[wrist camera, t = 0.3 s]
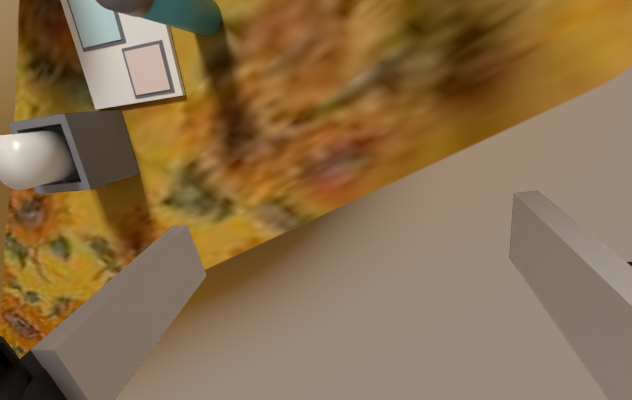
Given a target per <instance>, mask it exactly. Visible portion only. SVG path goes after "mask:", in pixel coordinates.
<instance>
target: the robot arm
mask: <svg viewBox="0 0 632 400" xmlns="http://www.w3.org/2000/svg"><path fill="white" fill-rule="evenodd" d="M509 257H510V259H511V261H512V262H513V264H514V265H515V266H516V268H517V269H518V271H519V272H520V274H521V275H522V277H523V278H524V279H525V281H526V282H527V284H528V285H529V286H530V288H531V289H532V291H533V292H534V294H535V295H536V297H537V298H538V300H539V301H540V303H541V304H542V305H543V307H544V308H545V310H546V311H547V313H548V314H549V316H550V317H551V318H552V320H553V321H554V323H555V324H556V326H557V327H558V328H559V330H560V331H561V333H562V334H563V336H564V337H565V339H566V340H567V341H568V343H569V344H570V346H571V347H572V349H573V350H574V352H575V353H576V354H577V356H578V357H579V359H580V360H581V362H582V363H583V365H584V366H585V368H586V369H587V370H588V372H589V373H590V375H591V376H592V377H593V379H594V380H595V382H596V383H597V385H598V386H599V388H600V389H601V391H602V392H603V393H604V395H605V396H606V398H607V399H608V400H632V262H625V261H624V260H623V259H622V258H620V257H619V256H618V255H617V254H615V253H614V252H613V251H612V250H610V249H609V248H608V247H607V246H606V245H604V244H603V243H602V242H601V241H599V240H598V239H597V238H596V237H594V236H593V235H592V234H591V233H589V232H588V231H587V230H586V229H584V228H583V227H582V226H581V225H579V224H578V223H577V222H576V221H575V220H573V219H572V218H571V217H570V216H568V215H567V214H566V213H564V212H563V211H562V210H561V209H560V208H558V207H557V206H556V205H555V204H553V203H552V202H551V201H549V200H548V199H547V198H546V197H545V196H543V195H542V194H541V193H540V192H539V191H530V192H520V193H514V195H513V210H512V225H511V240H510V255H509ZM205 277H206V273H205V270H204V267H203V265H202V262H201V260H200V257H199V254H198V252H197V249H196V246H195V244H194V241H193V239H192V236H191V233H190V231H189V228H188V225H180V226H172V227H171V228H169V229H168V230H167V231H166V232H165V233H164V234H163V235H161V236H160V237H159V238H158V239H157V240H156V241H155V242H153V243H152V244H151V245H150V246H149V247H148V248H147V249H145V250H144V251H143V252H142V253H141V254H140V255H139V256H137V257H136V258H135V259H134V260H133V261H132V262H131V263H129V264H128V265H127V266H126V267H125V268H124V269H123V270H121V271H120V272H119V273H118V274H117V275H116V276H115V277H113V278H112V279H111V280H110V281H109V282H108V283H107V284H105V285H104V286H103V287H102V288H101V289H100V290H98V291H97V292H96V293H95V294H94V295H93V296H92V297H90V298H89V299H88V300H87V301H86V302H85V303H84V304H82V305H81V306H80V307H79V308H78V309H77V310H76V311H74V312H73V313H72V314H71V315H70V316H69V317H68V318H66V319H65V320H64V321H63V322H62V323H61V324H60V325H58V326H57V327H56V328H55V329H54V330H53V331H52V332H50V333H49V334H48V335H47V336H46V337H45V338H44V339H42V340H41V341H40V342H39V343H38V344H37V345H36V346H34V347H33V348H32V349H31V350H30V351H29V352H28V353H26V354H25V355H24V356H23V357H22V358H21V359H19V358H18V356H17V355H16V354H15V352H14V351H13V350H12V348H11V347H10V346H9V344H8V343H7V342H6V340H5V339H4V338H3V337H2V336H0V400H115V399H116V398H117V397H118V395H119V394H120V393H121V391H122V390H123V388H124V387H125V386H126V385H127V383H128V382H129V380H130V379H131V378H132V376H133V375H134V374H135V372H136V371H137V370H138V368H139V367H140V365H141V364H142V363H143V361H144V360H145V359H146V357H147V356H148V355H149V353H150V352H151V350H152V349H153V348H154V346H155V345H156V344H157V342H158V341H159V340H160V338H161V337H162V335H163V334H164V333H165V331H166V330H167V328H168V327H169V326H170V325H171V323H172V322H173V320H174V319H175V318H176V316H177V315H178V314H179V312H180V311H181V310H182V308H183V307H184V305H185V304H186V303H187V301H188V300H189V299H190V297H191V296H192V295H193V293H194V292H195V290H196V289H197V288H198V286H199V285H200V284H201V282H202V281H203V280H204V278H205Z"/></svg>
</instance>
